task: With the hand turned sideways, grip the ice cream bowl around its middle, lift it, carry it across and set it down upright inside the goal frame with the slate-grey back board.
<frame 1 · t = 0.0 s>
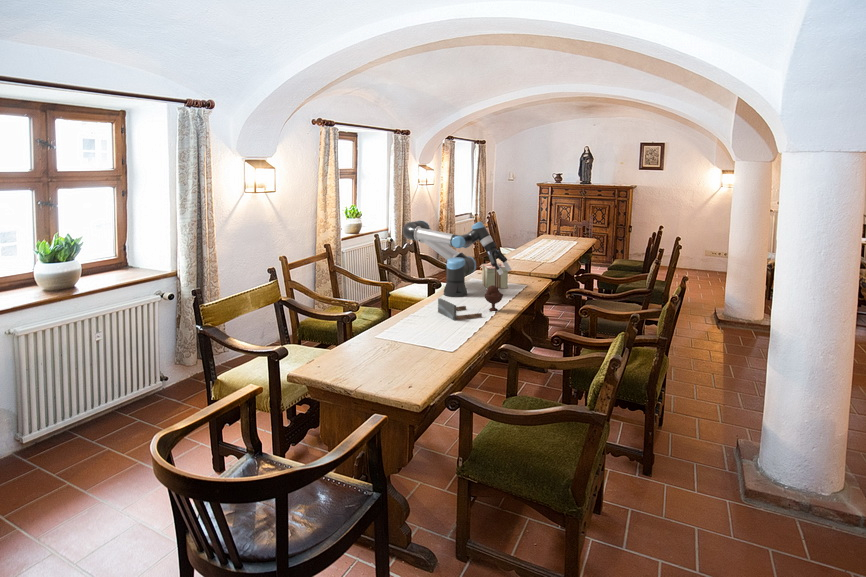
hand: (505, 272, 379), 15 cm above the table, tool tilted 35°, fingers open, 13 cm apart
gift box: (492, 287, 409), on the table
goal frame: (460, 314, 334), on the table
ice cream bowl: (493, 310, 344), on the table
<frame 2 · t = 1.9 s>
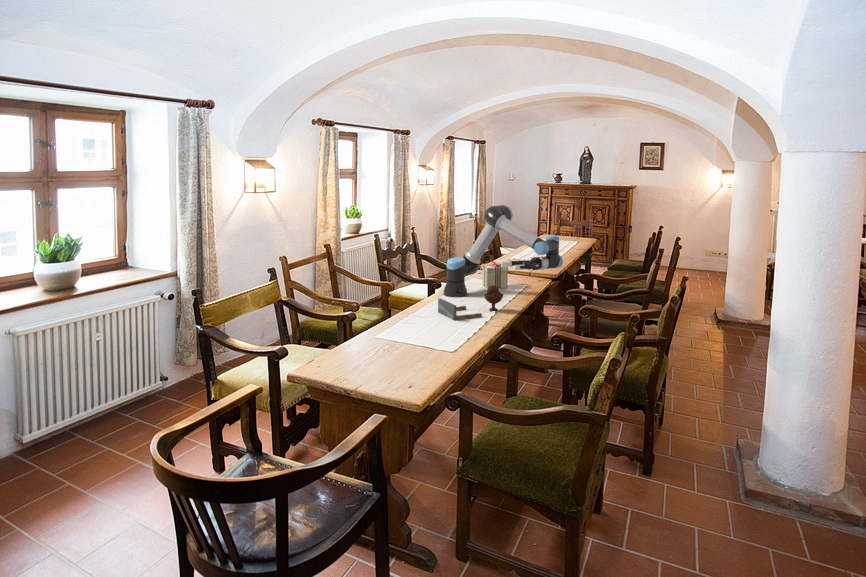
hand: (508, 266, 343), 25 cm above the table, tool horizontal, fingers open, 13 cm apart
nothing on the table moved.
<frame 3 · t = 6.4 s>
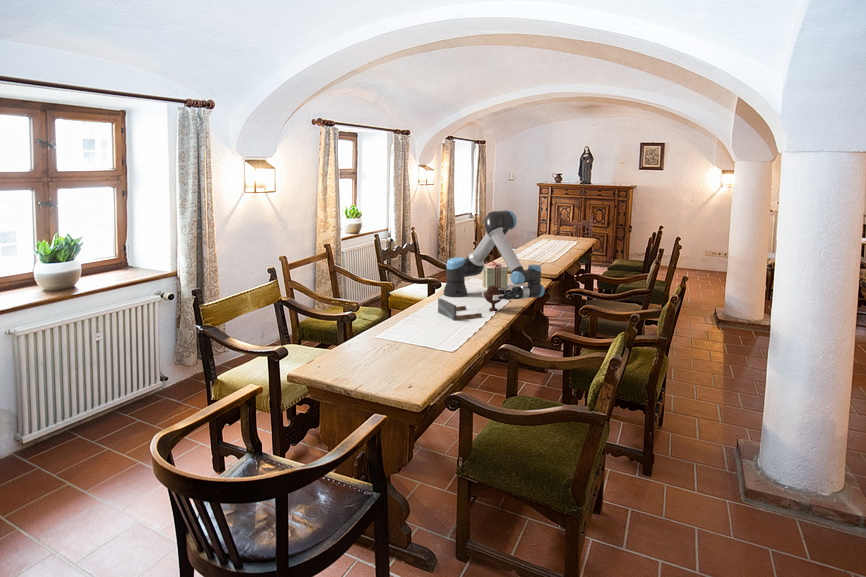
hand: (487, 295, 340), 9 cm above the table, tool horizontal, fingers closed on ice cream bowl, 11 cm apart
ice cream bowl: (493, 310, 344), on the table, touching gripper
everything else where it was.
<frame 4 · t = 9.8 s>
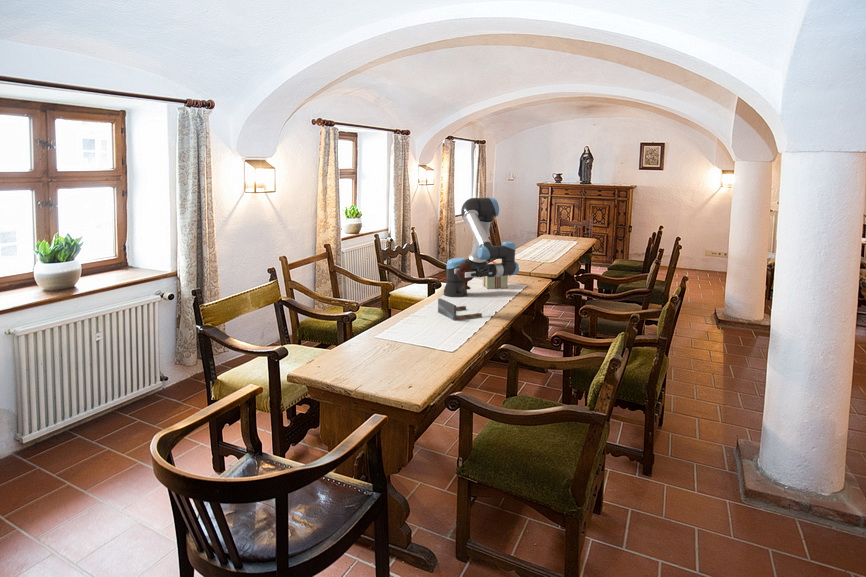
hand: (459, 273, 328), 24 cm above the table, tool horizontal, fingers closed on ice cream bowl, 11 cm apart
ice cream bowl: (465, 288, 332), point 15 cm above the table, touching gripper
everything else where it was.
when the fingers open (10 cm above the table, at t = 13.2 s): ice cream bowl drops 1 cm, on the table.
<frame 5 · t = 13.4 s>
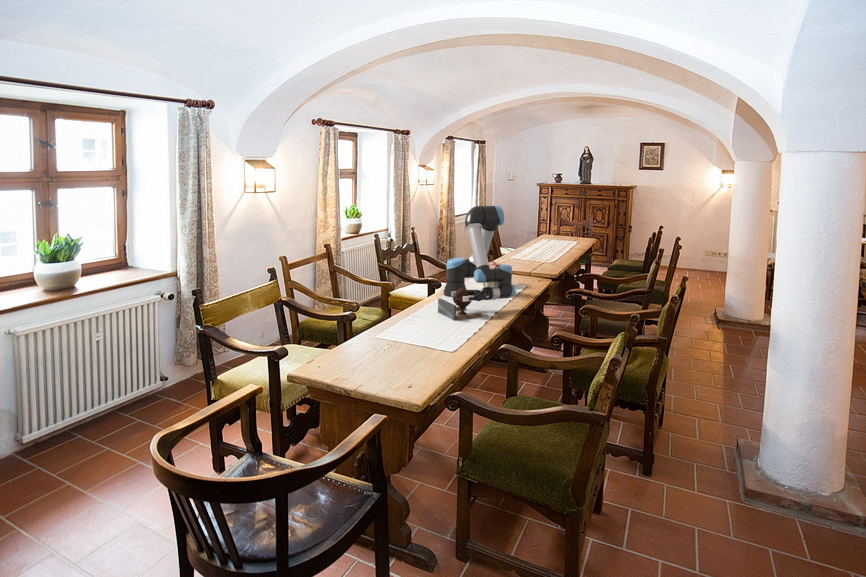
hand: (457, 296, 331), 10 cm above the table, tool horizontal, fingers open, 13 cm apart
ice cream bowl: (462, 314, 335), on the table
everything else where it was.
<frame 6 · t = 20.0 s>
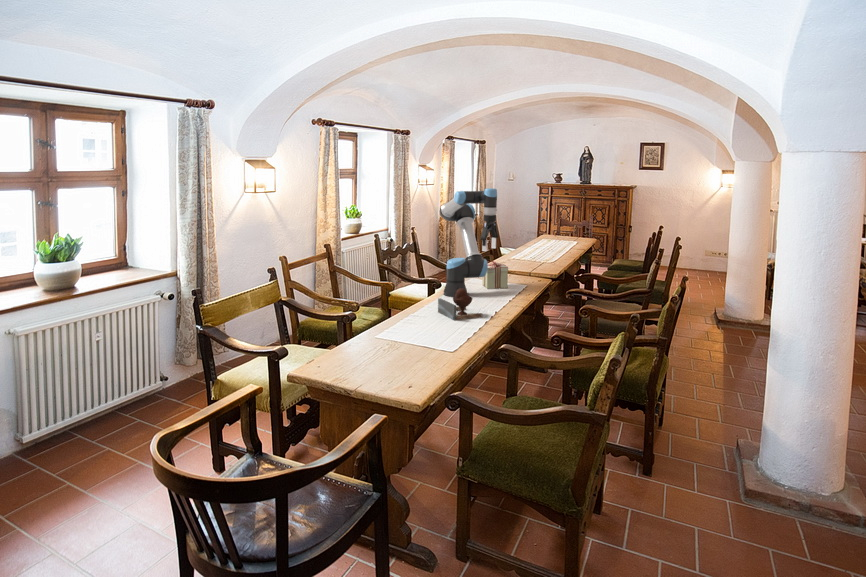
hand: (489, 249, 361), 32 cm above the table, tool pointing down, fingers open, 13 cm apart
nothing on the table moved.
at the end: ice cream bowl 1.1 cm from the goal frame (horizontally); ice cream bowl tilted 0°; the gripper is holding nothing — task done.
